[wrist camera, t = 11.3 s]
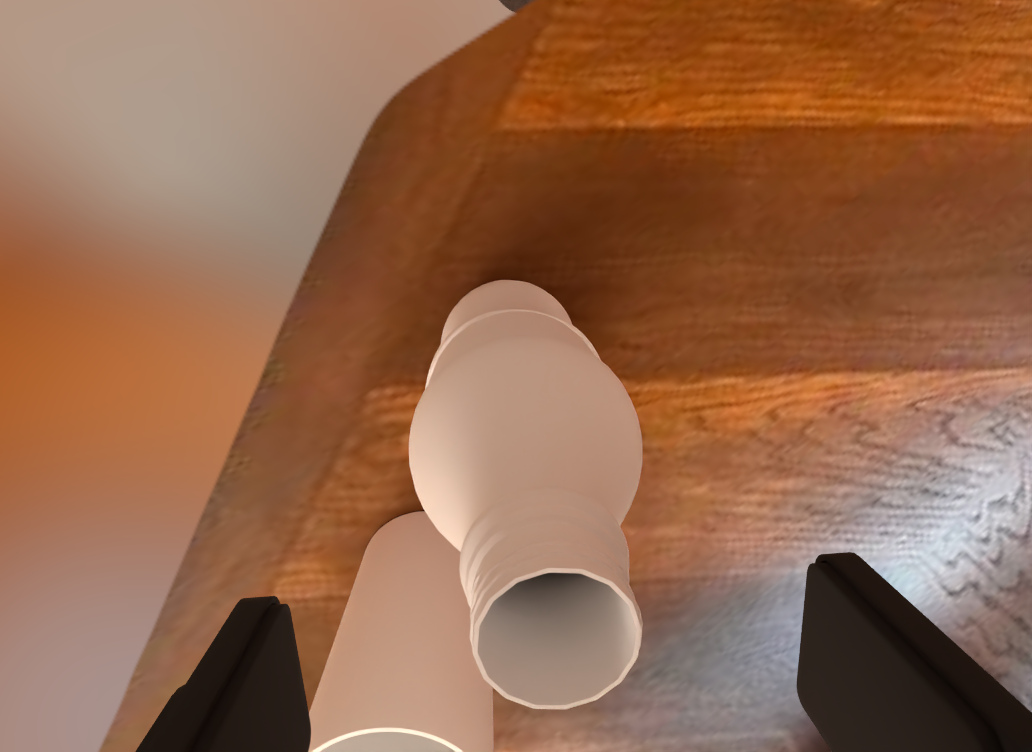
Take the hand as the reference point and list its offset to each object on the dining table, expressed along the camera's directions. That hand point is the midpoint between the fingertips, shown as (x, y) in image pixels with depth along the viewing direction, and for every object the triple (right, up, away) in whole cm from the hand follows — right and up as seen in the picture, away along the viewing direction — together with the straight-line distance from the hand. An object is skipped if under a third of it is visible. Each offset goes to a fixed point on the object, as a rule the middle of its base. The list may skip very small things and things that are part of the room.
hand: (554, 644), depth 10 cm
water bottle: (-1, +7, +24) cm, 25 cm away
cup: (-7, -8, +28) cm, 30 cm away
